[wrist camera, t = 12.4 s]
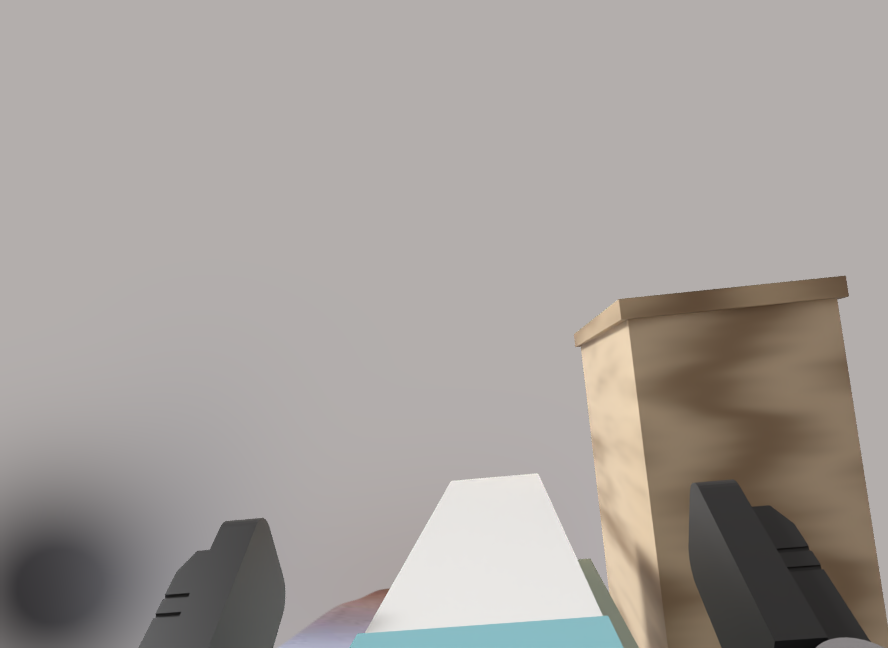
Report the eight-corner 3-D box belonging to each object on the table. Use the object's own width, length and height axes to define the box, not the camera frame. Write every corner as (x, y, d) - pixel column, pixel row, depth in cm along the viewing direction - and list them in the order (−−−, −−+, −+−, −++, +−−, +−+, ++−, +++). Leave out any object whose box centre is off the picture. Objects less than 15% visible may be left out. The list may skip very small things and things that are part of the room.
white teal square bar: (334, 1085, 8) (307, 717, 9) (458, 570, 32) (450, 478, 32) (691, 1076, 8) (646, 695, 8) (548, 562, 32) (539, 470, 32)
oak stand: (730, 1217, 24) (618, 299, 27) (637, 883, 41) (574, 334, 44) (992, 1214, 24) (845, 275, 27) (789, 876, 40) (714, 320, 43)
